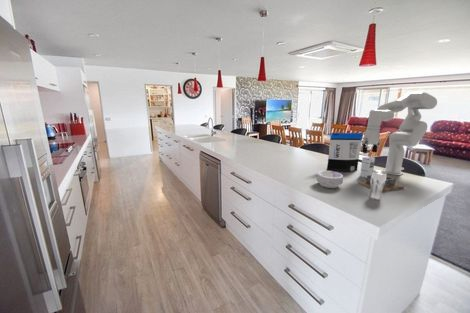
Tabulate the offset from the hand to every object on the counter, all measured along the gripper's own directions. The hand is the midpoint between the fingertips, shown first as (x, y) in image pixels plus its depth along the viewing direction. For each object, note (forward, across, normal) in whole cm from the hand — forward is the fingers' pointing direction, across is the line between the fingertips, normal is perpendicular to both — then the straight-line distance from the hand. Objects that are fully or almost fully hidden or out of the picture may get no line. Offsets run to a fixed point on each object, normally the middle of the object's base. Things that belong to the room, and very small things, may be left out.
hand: (369, 152), depth 150 cm
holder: (+18, +8, +17) cm, 26 cm away
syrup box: (+18, -1, 0) cm, 18 cm away
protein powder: (+18, +3, -18) cm, 26 cm away
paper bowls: (+19, +39, +6) cm, 44 cm away
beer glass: (+19, +28, +29) cm, 45 cm away
